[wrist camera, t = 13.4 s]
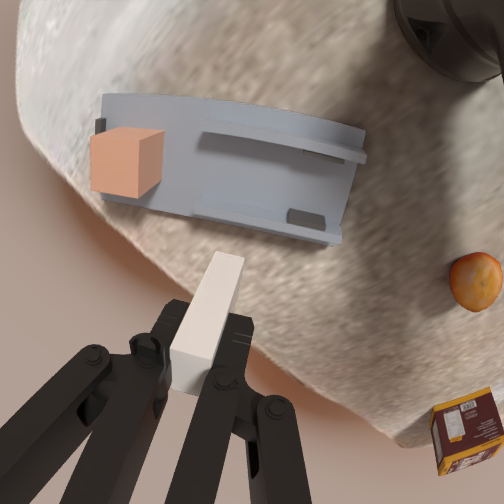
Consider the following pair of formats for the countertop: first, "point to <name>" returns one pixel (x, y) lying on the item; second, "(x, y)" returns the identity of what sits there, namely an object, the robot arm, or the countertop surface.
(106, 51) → the countertop surface
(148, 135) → the block
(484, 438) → the supplement box
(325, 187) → the chute
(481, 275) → the fruit
